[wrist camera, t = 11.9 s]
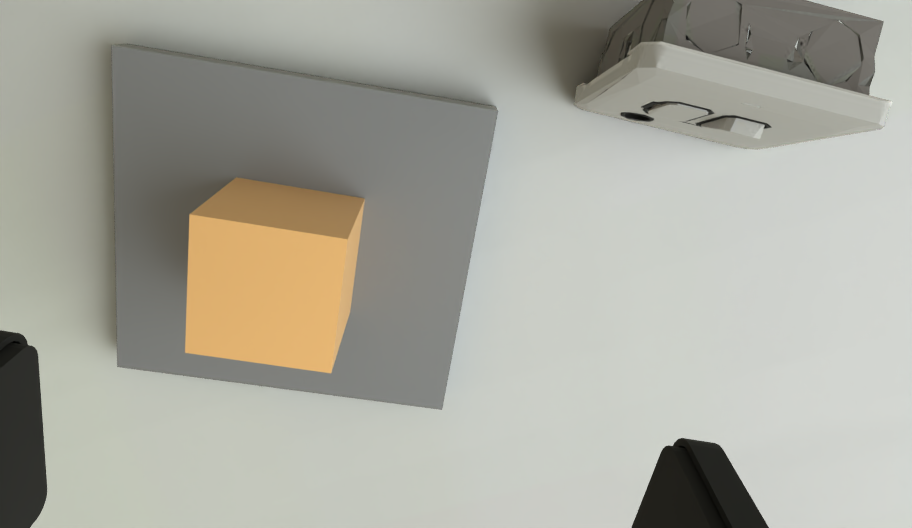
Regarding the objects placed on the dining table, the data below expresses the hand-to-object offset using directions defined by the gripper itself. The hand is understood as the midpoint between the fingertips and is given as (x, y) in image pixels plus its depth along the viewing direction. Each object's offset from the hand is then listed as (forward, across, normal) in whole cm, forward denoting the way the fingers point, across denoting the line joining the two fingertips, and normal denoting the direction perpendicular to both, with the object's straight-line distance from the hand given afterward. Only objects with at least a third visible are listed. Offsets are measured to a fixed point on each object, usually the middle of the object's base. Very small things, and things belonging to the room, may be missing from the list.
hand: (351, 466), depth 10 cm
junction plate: (+23, +5, +6) cm, 24 cm away
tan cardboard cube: (+22, +5, +6) cm, 23 cm away
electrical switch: (+24, -11, -5) cm, 27 cm away
